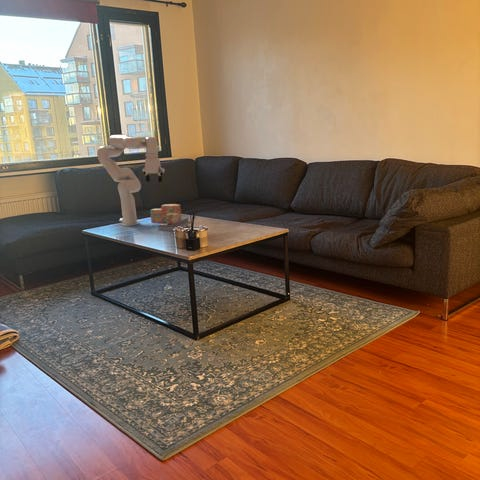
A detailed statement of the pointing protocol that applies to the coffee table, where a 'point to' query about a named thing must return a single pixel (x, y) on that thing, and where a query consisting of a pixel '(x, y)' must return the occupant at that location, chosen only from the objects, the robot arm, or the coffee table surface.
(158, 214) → the stack of blocks
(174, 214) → the pedestal
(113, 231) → the coffee table surface
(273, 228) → the coffee table surface
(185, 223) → the dock
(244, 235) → the coffee table surface
